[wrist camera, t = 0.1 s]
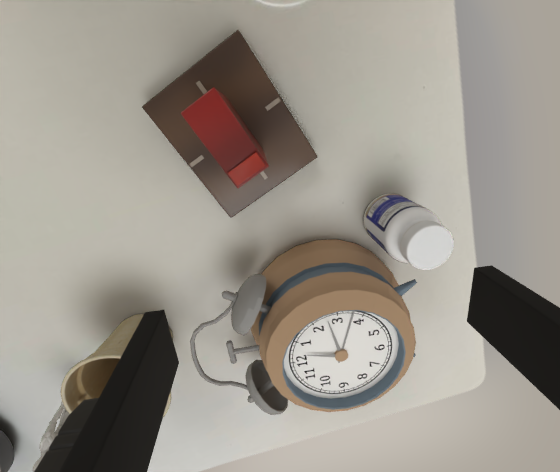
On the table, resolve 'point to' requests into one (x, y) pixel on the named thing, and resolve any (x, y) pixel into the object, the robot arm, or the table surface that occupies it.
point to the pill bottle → (408, 231)
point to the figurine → (51, 432)
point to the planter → (5, 453)
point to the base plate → (253, 111)
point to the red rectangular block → (226, 137)
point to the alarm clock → (321, 329)
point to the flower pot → (99, 367)
